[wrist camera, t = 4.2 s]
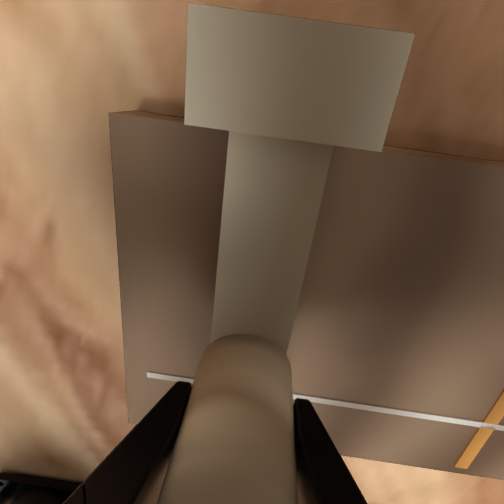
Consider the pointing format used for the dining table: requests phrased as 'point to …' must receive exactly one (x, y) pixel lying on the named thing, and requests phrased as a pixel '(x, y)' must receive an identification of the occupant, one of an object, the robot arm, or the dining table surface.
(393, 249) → the board
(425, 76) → the dining table surface
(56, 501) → the robot arm
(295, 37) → the lever handle
